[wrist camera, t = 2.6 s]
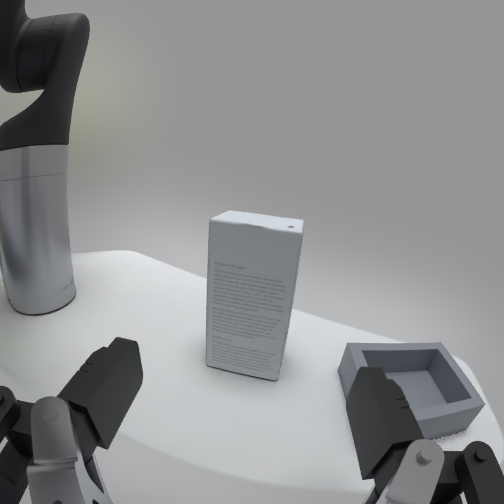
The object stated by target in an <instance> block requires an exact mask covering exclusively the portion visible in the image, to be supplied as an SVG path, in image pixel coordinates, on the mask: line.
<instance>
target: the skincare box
mask: <svg viewBox="0 0 504 504" xmlns="http://www.w3.org/2000/svg"><path fill="white" fill-rule="evenodd" d="M303 232H304V221H303V220H298V219H291V218H283V217H275V216H268V215H262V214H255V213H246V212H238V211H227V212H225V213H223V214H221V215H218V216H216V217H214V218H212V219H210V221H209V242H208V245H209V246H208V273H207V306H206V364H207V365H208V366H212V367H216V368H220V369H224V370H228V371H232V372H237V373H241V374H246V375H251V376H255V377H260V378H265V379H270V380H277V379H278V375H279V371H280V367H281V363H282V359H283V354H284V349H285V344H286V339H287V334H288V328H289V323H290V317H291V311H292V305H293V299H294V292H295V286H296V280H297V274H298V266H299V260H300V252H301V246H302V240H303Z"/></svg>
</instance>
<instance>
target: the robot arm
mask: <svg viewBox="0 0 504 504" xmlns="http://www.w3.org/2000/svg"><path fill="white" fill-rule="evenodd" d="M89 32H90V26H89V20H88V18H87V17H86V15H84V14H81V13H73V14H62V15H54V16H47V17H42V18H36V19H30V18H29V17H27V15H26V12H25V0H0V85H1V87H2V88H3V89H4V90H5V91H7V92H10V93H21V92H28V91H34V90H42V89H44V91H43V93H42V94H41V95H40V97H39V98H38V99H37V100H36V101H35V102H34V103H32V104H31V105H30V106H29V107H28V108H26V109H25V110H23V111H22V112H21V113H19V114H18V115H16V116H14V117H13V118H11V119H9V120H8V121H6V122H4V123H3V124H2V125H1V126H0V268H1V273H2V277H3V282H4V286H5V290H6V294H7V298H8V299H10V300H11V303H12V306H13V307H14V309H16V310H17V311H19V312H21V313H26V314H42V313H47V312H51V311H53V310H56V309H59V308H61V307H63V306H64V305H66V304H67V303H69V302H70V301H71V300H72V299H73V297H74V296H75V292H76V289H75V283H74V276H73V269H72V260H71V251H70V241H69V228H68V208H67V163H68V161H67V160H68V144H69V130H70V123H71V115H72V108H73V101H74V95H75V91H76V86H77V82H78V78H79V74H80V70H81V67H82V63H83V60H84V56H85V52H86V49H87V44H88V39H89ZM142 381H143V370H142V364H141V358H140V352H139V346H138V343H137V342H136V341H133V340H129V339H125V338H121V337H116V338H115V339H114V340H113V342H112V343H111V344H110V345H109V347H108V348H107V347H102V348H100V349H99V350H97V351H95V352H93V353H92V354H91V355H90V357H89V358H88V359H87V360H86V361H85V364H83V365H82V366H81V367H80V370H79V371H77V372H76V374H75V375H74V376H73V377H72V378H71V380H70V381H69V382H68V383H67V385H66V386H65V387H64V388H63V390H62V391H61V392H60V393H59V395H58V396H57V397H53V396H48V397H44V398H41V399H39V400H38V401H37V402H36V403H35V404H34V403H28V402H24V401H19V400H16V398H15V396H14V395H13V393H12V391H11V390H10V389H9V388H7V387H4V386H0V443H1V441H2V440H3V439H4V437H6V438H7V440H8V442H7V443H6V445H5V447H4V448H3V450H2V451H1V453H0V504H19V502H20V500H21V498H22V496H23V494H24V492H25V490H26V488H27V485H28V484H29V490H30V496H31V501H32V504H113V503H112V502H111V500H110V498H109V496H108V493H107V490H106V488H105V485H104V482H103V479H102V476H101V473H100V470H99V467H98V464H97V461H96V457H95V454H94V450H95V448H96V447H97V446H99V447H102V448H104V449H107V450H108V448H109V446H110V444H111V442H112V440H113V438H114V436H115V435H116V433H117V431H118V429H119V427H120V425H121V423H122V421H123V419H124V417H125V415H126V413H127V412H128V410H129V408H130V406H131V404H132V402H133V400H134V398H135V396H136V395H137V393H138V391H139V389H140V387H141V385H142ZM346 410H347V415H348V419H349V423H350V427H351V431H352V435H353V439H354V444H355V448H356V452H357V457H358V461H359V466H360V471H361V475H362V480H366V479H372V478H374V482H375V485H374V486H373V487H372V488H371V490H370V492H369V493H368V495H367V496H366V498H365V500H364V501H363V503H362V504H463V503H462V499H461V496H460V494H461V493H462V492H464V494H465V497H466V501H467V504H504V475H503V473H502V471H501V468H500V466H499V464H498V461H497V459H496V457H495V455H494V453H493V451H492V449H491V447H490V446H489V445H487V444H486V443H484V442H481V441H474V442H472V443H470V444H469V445H468V446H467V447H466V448H465V449H464V450H463V451H443V450H442V448H441V447H440V446H439V445H438V444H437V443H436V442H434V441H432V440H428V439H425V438H424V436H423V434H422V432H421V429H420V427H419V425H418V423H417V420H416V418H415V416H414V414H413V412H412V409H411V408H410V405H409V403H408V401H407V400H406V397H405V395H404V393H403V391H402V389H401V387H400V386H399V385H398V384H397V383H396V382H395V381H394V380H393V379H387V377H386V375H385V373H384V371H383V369H382V367H381V366H362V367H360V368H359V370H358V372H357V374H356V377H355V379H354V382H353V384H352V387H351V389H350V391H349V394H348V396H347V401H346Z"/></svg>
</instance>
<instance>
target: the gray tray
mask: <svg viewBox="0 0 504 504" xmlns="http://www.w3.org/2000/svg"><path fill="white" fill-rule="evenodd" d="M362 366H381V367H382V369H383V371H384V373H385V375H386V377H387V379H393V380H394V381H395V382H396V383H397V384H398V385H399V386H400V387H401V389H402V391H403V393H404V395H405V397H406V400H407V401H408V403H409V405H410V408H411V409H412V412H413V414H414V416H415V418H416V420H417V423H418V425H419V427H420V429H421V432H422V434H423V436H424V438H425V439H428V440H432V439H436V438H440V437H443V436H447V435H450V434H454V433H457V432H460V431H463V430H466V429H467V427H468V426H469V425H470V424H471V422H472V421H473V420H474V419H475V417H476V416H477V415H478V413H479V412H480V411H481V409H482V408H483V407H484V405H485V403H484V401H483V400H482V398H481V397H480V395H479V394H478V392H477V391H476V389H475V388H474V387H473V385H472V384H471V382H470V381H469V379H468V378H467V377H466V375H465V374H464V372H463V371H462V370H461V368H460V367H459V366H458V364H457V363H456V361H455V360H454V359H453V357H452V356H451V355H450V354H449V352H448V351H447V350H446V348H445V347H444V346H443V344H442V343H441V342H438V343H400V344H382V343H347V345H346V348H345V351H344V354H343V357H342V360H341V363H340V366H339V368H338V372H339V376H340V379H341V383H342V387H343V391H344V395H345V398H346V401H347V396H348V394H349V391H350V389H351V387H352V384H353V382H354V379H355V377H356V374H357V372H358V370H359V368H360V367H362Z"/></svg>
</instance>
